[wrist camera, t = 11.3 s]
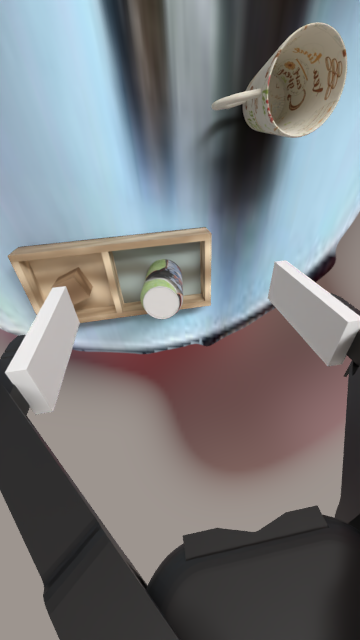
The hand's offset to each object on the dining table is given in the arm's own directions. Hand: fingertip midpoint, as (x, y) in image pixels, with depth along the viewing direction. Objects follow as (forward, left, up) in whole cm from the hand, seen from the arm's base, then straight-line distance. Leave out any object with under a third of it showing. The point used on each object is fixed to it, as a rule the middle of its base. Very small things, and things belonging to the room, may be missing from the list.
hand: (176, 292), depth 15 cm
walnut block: (+10, -15, -26) cm, 32 cm away
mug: (-12, +14, -28) cm, 33 cm away
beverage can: (+10, 0, -26) cm, 28 cm away
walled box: (+10, -7, -27) cm, 30 cm away
